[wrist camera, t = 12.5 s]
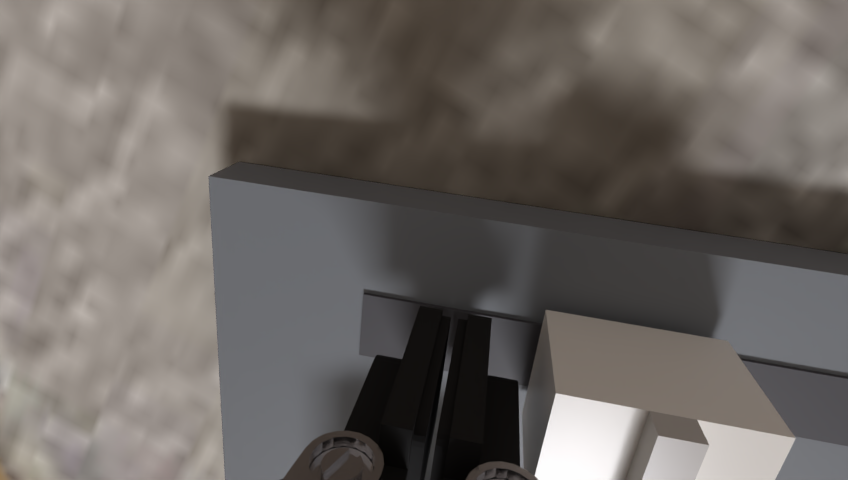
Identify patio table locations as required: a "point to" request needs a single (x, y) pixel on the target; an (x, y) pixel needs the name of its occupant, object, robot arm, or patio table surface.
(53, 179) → the patio table surface
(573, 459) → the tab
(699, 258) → the switch panel
